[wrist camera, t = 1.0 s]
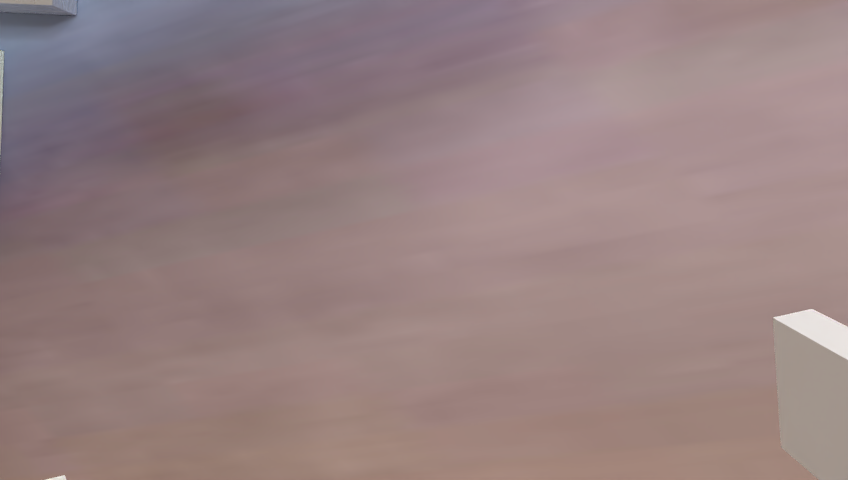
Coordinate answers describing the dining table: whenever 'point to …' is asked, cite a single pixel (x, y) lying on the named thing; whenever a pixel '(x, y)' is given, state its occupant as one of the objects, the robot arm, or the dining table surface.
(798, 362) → the robot arm
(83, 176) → the dining table surface
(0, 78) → the sage tile
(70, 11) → the square frame
